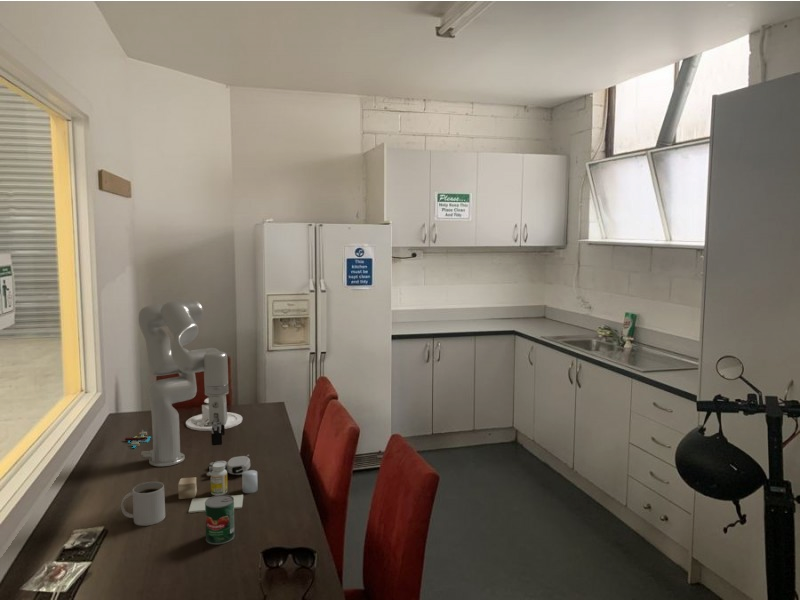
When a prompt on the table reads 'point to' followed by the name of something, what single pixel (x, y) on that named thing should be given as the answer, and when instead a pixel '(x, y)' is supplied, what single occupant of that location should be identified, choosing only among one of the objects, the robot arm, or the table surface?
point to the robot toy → (233, 465)
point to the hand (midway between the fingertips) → (218, 439)
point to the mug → (147, 503)
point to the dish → (203, 420)
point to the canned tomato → (219, 519)
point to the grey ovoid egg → (249, 481)
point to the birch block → (187, 488)
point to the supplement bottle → (218, 479)
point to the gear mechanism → (139, 438)
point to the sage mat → (199, 503)
